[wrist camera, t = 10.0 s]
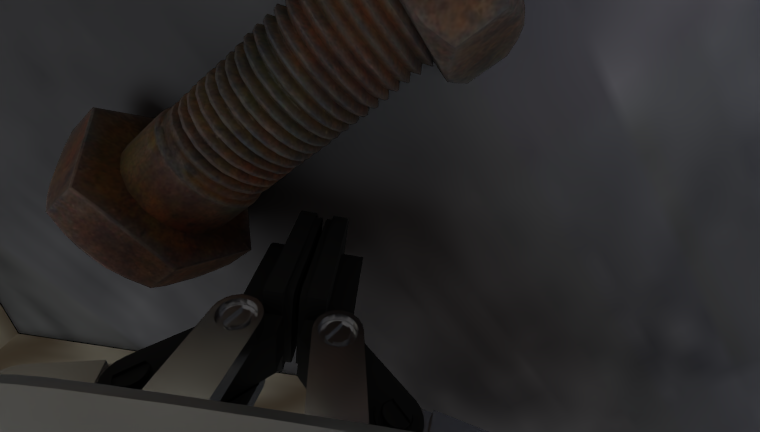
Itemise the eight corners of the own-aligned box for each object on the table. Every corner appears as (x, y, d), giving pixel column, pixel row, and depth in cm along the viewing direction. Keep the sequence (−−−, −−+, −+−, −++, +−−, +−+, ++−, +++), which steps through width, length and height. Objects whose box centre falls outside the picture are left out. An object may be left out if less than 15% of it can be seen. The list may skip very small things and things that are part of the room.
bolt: (572, -108, 10) (220, 178, 15) (540, -431, 6) (75, 107, 11) (748, -19, 7) (222, 308, 11) (939, -600, 3) (18, 274, 8)
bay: (414, -228, 7) (420, -377, 4) (326, 395, 20) (313, 463, 17) (-513, -427, 7) (-1215, -750, 4) (1, 346, 20) (-71, 408, 17)
